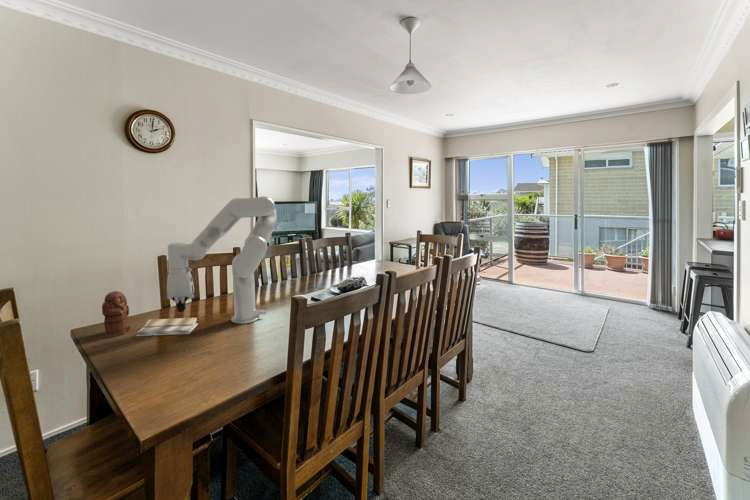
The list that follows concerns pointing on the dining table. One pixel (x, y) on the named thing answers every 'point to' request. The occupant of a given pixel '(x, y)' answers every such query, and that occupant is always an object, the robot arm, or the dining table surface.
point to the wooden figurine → (115, 314)
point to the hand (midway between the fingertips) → (181, 311)
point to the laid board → (164, 330)
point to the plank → (170, 322)
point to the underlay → (172, 334)
